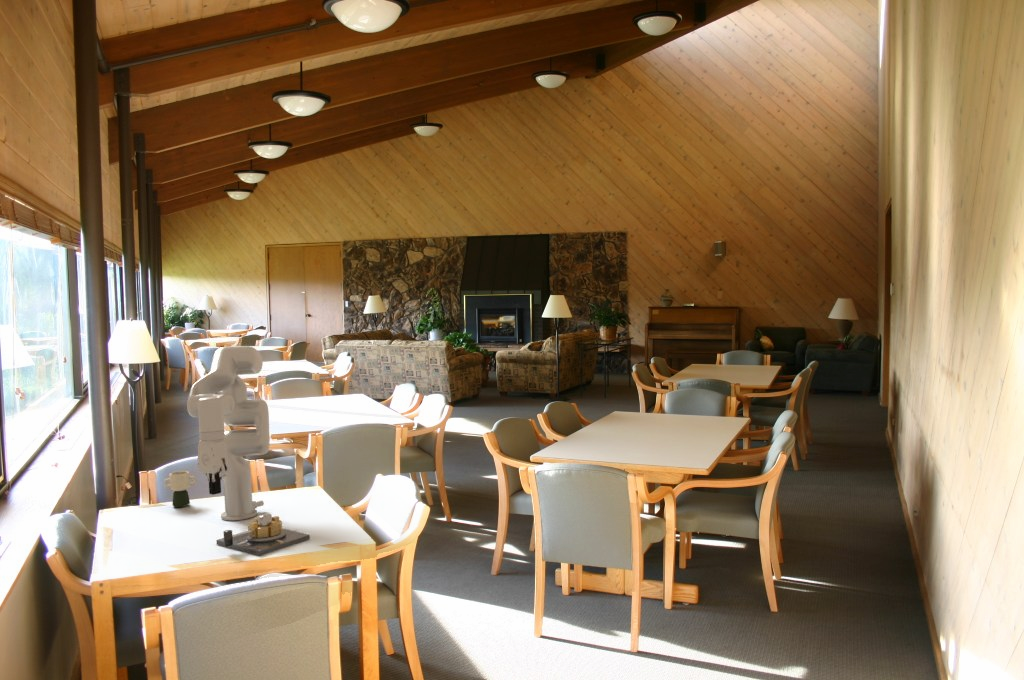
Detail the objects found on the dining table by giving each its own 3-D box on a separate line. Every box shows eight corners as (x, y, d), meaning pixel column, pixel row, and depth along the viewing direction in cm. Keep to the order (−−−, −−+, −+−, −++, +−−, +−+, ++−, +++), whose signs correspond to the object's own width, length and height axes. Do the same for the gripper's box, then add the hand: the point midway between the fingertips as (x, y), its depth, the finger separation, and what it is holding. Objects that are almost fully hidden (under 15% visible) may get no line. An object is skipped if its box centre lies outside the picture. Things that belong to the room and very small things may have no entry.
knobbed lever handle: (268, 527, 288) (268, 514, 288) (288, 532, 282) (287, 518, 282) (215, 543, 272) (214, 529, 271) (235, 548, 266) (234, 534, 265)
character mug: (197, 502, 334) (195, 469, 334) (195, 507, 328) (193, 473, 327) (167, 505, 331) (165, 472, 331) (165, 510, 325) (163, 476, 324)
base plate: (267, 529, 295) (266, 504, 294) (309, 539, 282) (308, 513, 281) (216, 544, 279) (215, 518, 278) (258, 556, 266) (257, 529, 265)
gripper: (187, 436, 272) (191, 493, 273) (216, 440, 263) (219, 499, 264) (208, 432, 278) (211, 488, 279) (236, 436, 269) (239, 493, 270)
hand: (215, 493), depth 272 cm, fingers closed
